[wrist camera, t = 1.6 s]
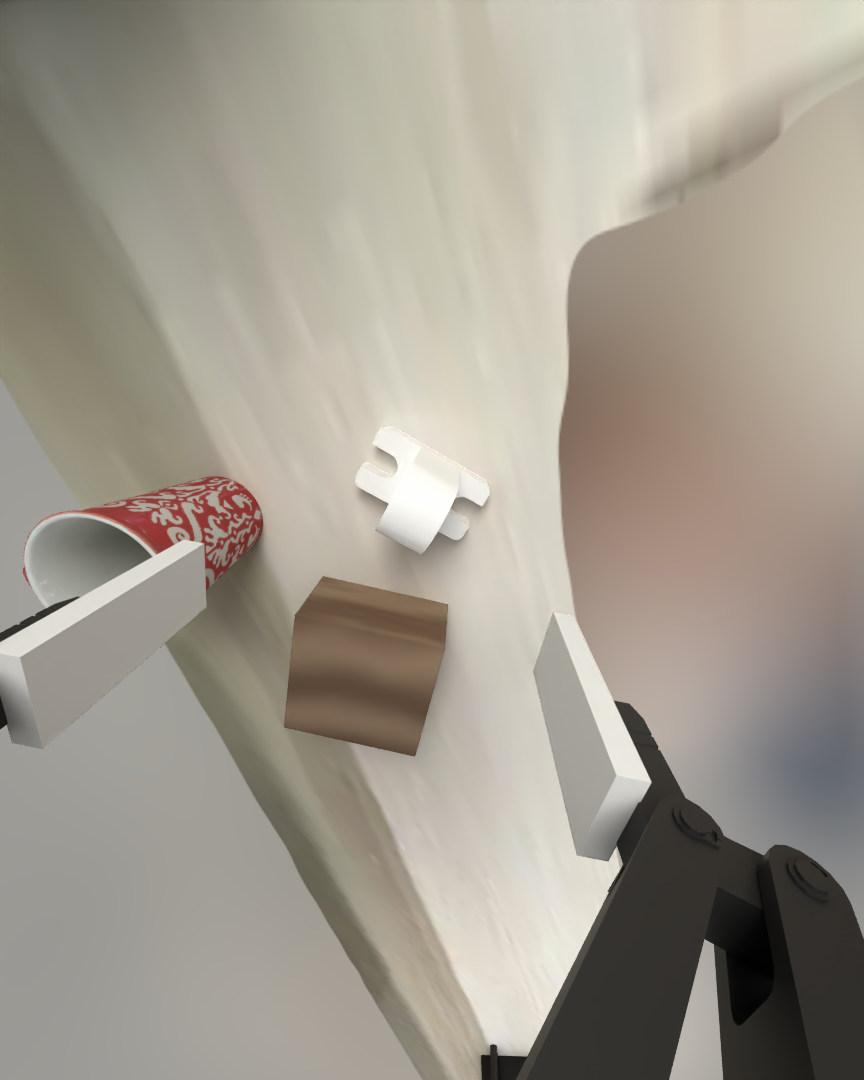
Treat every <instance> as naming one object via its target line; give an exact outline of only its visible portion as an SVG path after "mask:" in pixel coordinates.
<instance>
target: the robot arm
mask: <svg viewBox="0 0 864 1080" xmlns="http://www.w3.org/2000/svg"><path fill="white" fill-rule="evenodd" d="M206 607H207V605H206V578H205V551H204V543H199V542H194V541H189V540H182V541H180V542H179V543H177V544H175V545H173V546H171V547H170V548H168V549H166V550H164V551H162V552H161V553H159V554H157V555H155V556H154V557H152V558H150V559H148V560H146V561H145V562H143V563H141V564H139V565H137V566H136V567H134V568H132V569H130V570H128V571H127V572H125V573H123V574H121V575H120V576H118V577H116V578H114V579H112V580H111V581H109V582H107V583H105V584H103V585H102V586H100V587H98V588H96V589H94V590H93V591H91V592H89V593H87V594H86V595H84V596H82V597H79V596H77V597H74V598H71V599H68V600H65V601H62V602H59V603H55V604H53V605H51V606H50V607H48V608H46V609H44V610H42V611H40V612H38V613H37V614H36V615H35V616H31V617H29V618H27V619H25V620H24V621H22V622H20V624H19V625H14V626H12V627H11V628H9V629H7V630H5V631H3V632H1V633H0V729H1V728H3V727H4V726H5V725H7V727H8V731H9V734H10V737H11V741H12V743H16V744H20V745H25V746H30V747H35V748H40V749H43V748H45V747H46V746H47V745H48V744H49V743H50V742H51V741H53V740H54V739H55V738H56V737H57V736H59V735H60V734H61V733H62V732H63V731H64V730H65V729H66V728H68V727H69V726H70V725H71V724H72V723H74V722H75V721H76V720H77V719H78V718H79V717H80V716H81V715H83V714H84V713H85V712H86V711H87V710H88V709H89V708H91V707H92V706H93V705H94V704H95V703H96V702H98V701H99V700H100V699H101V698H102V697H103V696H105V695H106V694H107V693H108V692H109V691H110V690H111V689H113V688H114V687H115V686H116V685H117V684H118V683H120V682H121V681H122V680H123V679H124V678H125V677H126V676H127V675H129V674H130V673H131V672H132V671H133V670H135V669H136V668H137V667H138V666H139V665H140V664H141V663H143V662H144V661H145V660H146V659H147V658H148V657H149V656H150V655H152V654H153V653H154V652H155V651H156V650H157V649H159V648H160V647H161V646H162V645H163V644H164V643H166V642H167V641H168V640H169V639H170V638H171V637H173V636H174V635H175V634H176V633H177V632H178V631H179V630H181V629H182V628H183V627H184V626H185V625H186V624H187V623H189V622H190V621H191V620H192V619H193V618H194V617H196V616H197V615H198V614H199V613H200V612H201V611H202V610H204V609H205V608H206ZM533 673H534V677H535V681H536V685H537V689H538V694H539V698H540V702H541V706H542V711H543V715H544V719H545V723H546V727H547V732H548V736H549V740H550V744H551V748H552V753H553V757H554V761H555V765H556V770H557V774H558V778H559V782H560V786H561V791H562V795H563V799H564V803H565V808H566V812H567V816H568V820H569V824H570V829H571V833H572V837H573V841H574V846H575V850H576V854H577V855H578V856H583V857H588V858H594V859H599V860H604V861H609V859H610V857H611V855H612V854H613V852H614V850H615V848H616V846H617V847H618V850H619V853H620V856H621V859H622V862H623V866H622V868H621V869H620V871H619V873H618V874H617V876H616V878H615V880H614V881H613V883H612V885H611V887H610V888H609V890H608V892H609V893H608V895H607V897H606V899H605V901H604V903H603V905H602V907H601V909H600V911H599V913H598V915H597V917H596V919H595V921H594V923H593V925H592V927H591V929H590V931H589V933H588V935H587V937H586V939H585V941H584V943H583V945H582V947H581V950H580V952H579V954H578V956H577V958H576V960H575V962H574V964H573V966H572V968H571V970H570V972H569V974H568V976H567V978H566V980H565V982H564V984H563V986H562V988H561V990H560V992H559V994H558V996H557V998H556V1000H555V1002H554V1004H553V1006H552V1008H551V1010H550V1012H549V1014H548V1016H547V1018H546V1020H545V1022H544V1024H543V1026H542V1028H541V1030H540V1032H539V1034H538V1036H537V1038H536V1040H535V1042H534V1044H533V1046H532V1048H531V1050H530V1052H529V1054H528V1056H527V1058H526V1060H525V1062H524V1064H523V1066H522V1069H521V1071H520V1073H519V1075H518V1077H517V1079H516V1080H669V1077H670V1073H671V1069H672V1066H673V1061H674V1058H675V1054H676V1050H677V1046H678V1042H679V1038H680V1034H681V1030H682V1026H683V1022H684V1018H685V1013H686V1010H687V1006H688V1002H689V998H690V994H691V990H692V986H693V982H694V978H695V974H696V970H697V966H698V962H699V958H700V954H701V950H702V946H703V942H704V939H706V940H707V941H709V942H711V943H713V944H714V950H715V951H714V952H715V967H716V981H717V996H718V1009H719V1023H720V1038H721V1053H722V1067H723V1080H864V939H863V936H862V933H861V930H860V928H859V925H858V922H857V919H856V917H855V914H854V911H853V908H852V905H851V903H850V901H849V899H848V897H847V896H846V894H845V892H844V890H843V889H842V887H841V886H840V885H839V884H838V883H837V882H836V881H835V879H834V878H833V877H832V876H831V874H830V873H828V872H827V871H826V870H825V869H824V868H823V867H822V866H820V865H819V864H818V863H817V862H816V861H814V860H813V859H812V858H810V857H808V856H807V855H805V854H804V853H802V852H801V851H798V850H796V849H794V848H791V847H789V846H786V845H775V846H773V847H772V848H770V849H769V850H768V851H767V853H766V854H765V855H761V854H759V853H757V852H755V851H753V850H751V849H749V848H747V847H745V846H743V845H741V844H738V843H736V842H734V841H732V840H730V839H728V838H727V837H725V836H724V835H723V833H722V831H721V829H720V827H719V826H718V825H717V823H716V822H715V821H714V820H713V819H712V817H711V816H710V815H709V814H708V813H706V812H705V811H704V810H703V809H701V808H700V807H699V806H698V805H696V804H694V803H693V802H691V801H689V800H688V799H686V798H685V796H684V795H683V793H682V791H681V789H680V787H679V785H678V783H677V781H676V779H675V777H674V776H673V774H672V772H671V770H670V768H669V766H668V764H667V762H666V760H665V759H664V757H663V755H662V753H661V751H660V750H658V745H657V744H656V742H655V740H654V738H653V737H651V732H650V730H649V729H648V727H647V725H646V723H645V721H644V719H643V718H642V717H641V716H640V715H639V714H638V713H637V711H636V710H634V708H633V707H632V706H631V705H630V704H628V703H623V702H618V701H613V699H612V696H611V694H610V692H609V690H608V688H607V686H606V684H605V682H604V679H603V677H602V675H601V673H600V671H599V669H598V667H597V665H596V662H595V660H594V658H593V656H592V654H591V652H590V649H589V648H588V645H587V643H586V641H585V639H584V637H583V635H582V633H581V630H580V628H579V626H578V624H577V622H576V619H575V617H574V616H572V615H567V614H562V613H556V612H553V614H552V617H551V620H550V623H549V626H548V629H547V632H546V635H545V638H544V641H543V644H542V647H541V650H540V653H539V656H538V658H537V661H536V664H535V667H534V670H533Z"/></svg>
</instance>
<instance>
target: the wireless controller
mask: <svg viewBox="0 0 864 1080" xmlns="http://www.w3.org/2000/svg"><path fill="white" fill-rule="evenodd" d="M490 1054H491V1055H481V1066H482V1080H516V1079H517V1077H518V1075H519V1073H520V1071H521V1069H522V1066H523V1064H524V1062H525V1060H526V1058H527V1057H522V1056H498V1054H497V1046H496V1045H490ZM485 1056H486V1057H485Z"/></svg>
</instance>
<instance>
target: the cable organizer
mask: <svg viewBox="0 0 864 1080" xmlns="http://www.w3.org/2000/svg"><path fill="white" fill-rule="evenodd" d="M372 444H373V445H375V446H377V447H378V448H380V449H382V450H384V451H385V452H387V453H389V454H391V455H392V456H393V457H394V458H395V459H396V461H397V464H398V468H397V471H396V472H393V473H386V472H384V471H382V470H380V469H378V468H377V467H375V466H373V465H371V464H370V463H368V462H365V463H364V464H363V465H362V466H361V467H360V469H359V471H358V473H357V475H356V477H355V483H356V485H357V486H358V487H359V488H361V489H363V490H364V491H366V492H368V493H370V494H372V495H374V496H375V497H377V498H379V499H381V500H383V501H384V502H386V503H388V504H389V505H388V506H387V508H386V510H385V512H384V514H383V516H382V518H381V520H380V521H379V523H378V525H377V527H376V529H375V530H376V531H378V532H380V533H381V534H383V535H385V536H387V537H389V538H391V539H393V540H394V541H396V542H398V543H400V544H402V545H404V546H406V547H407V548H409V549H411V550H413V551H415V552H417V553H419V554H420V555H421V554H422V553H423V552H424V551H425V550H426V549H427V547H428V546H429V545H430V543H431V542H432V540H433V538H434V537H435V535H436V534H437V532H440V533H442V534H444V535H445V536H447V537H449V538H451V539H453V540H459V539H461V538H462V537H463V536H464V534H465V532H466V531H467V529H468V528H469V519H468V518H466V517H464V516H462V515H461V514H459V513H457V512H455V511H454V510H453V509H452V508H451V506H452V504H453V502H454V500H455V498H458V497H465V498H468V499H469V500H471V501H473V502H475V503H476V504H478V505H480V506H483V504H484V503H485V501H486V500H487V498H488V496H489V494H490V489H489V485H488V482H487V481H486V480H485V479H483V478H482V477H480V476H478V475H476V474H475V473H473V472H471V471H469V470H468V469H466V468H464V467H462V466H461V465H459V464H457V463H456V462H454V461H452V460H450V459H449V458H447V457H445V456H443V455H442V454H440V453H438V452H437V451H435V450H433V449H431V448H430V447H428V446H426V445H424V444H423V443H421V442H419V441H417V440H416V439H414V438H412V437H411V436H409V435H407V434H405V433H404V432H402V431H400V430H398V429H397V428H395V427H393V426H391V425H387V426H385V427H383V428H381V429H380V430H379V431H378V432H377V434H376V436H375V438H374V440H373V442H372Z"/></svg>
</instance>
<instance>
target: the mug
mask: <svg viewBox="0 0 864 1080" xmlns="http://www.w3.org/2000/svg"><path fill="white" fill-rule="evenodd" d="M262 524H263V523H262V514H261V510H260V508H259V505H258V503H257V501H256V500H255V498H254V497H253V496H252V494H251V493H250V492H249V491H248V490H246V489H245V488H244V487H243V486H242V485H240V484H238V483H237V482H235V481H232V480H230V479H227V478H223V477H207V478H202V479H198V480H194V481H190V482H187V483H184V484H180V485H176V486H172V487H169V488H165V489H162V490H158V491H154V492H151V493H148V494H144V495H140V496H136V497H132V498H127V499H123V500H120V501H116V502H112V503H108V504H105V505H101V506H98V507H94V508H90V509H87V510H83V511H67V512H60V513H57V514H54V515H51V516H49V517H47V518H45V519H43V520H42V521H41V522H39V523H38V524H37V525H36V526H35V527H34V529H33V530H32V531H31V532H30V533H29V536H28V538H27V541H26V544H25V548H24V563H25V567H24V568H23V574H24V575H25V578H26V580H27V582H28V583H29V585H30V586H31V587H32V588H33V590H34V592H35V594H36V596H37V597H38V599H39V600H40V602H41V603H42V604H43V606H44V607H45V608H48V607H50V606H51V605H53V604H55V603H59V602H62V601H65V600H68V599H71V598H74V597H77V596H79V597H82V596H84V595H86V594H87V593H89V592H91V591H93V590H94V589H96V588H98V587H100V586H102V585H103V584H105V583H107V582H109V581H111V580H112V579H114V578H116V577H118V576H120V575H121V574H123V573H125V572H127V571H128V570H130V569H132V568H134V567H136V566H137V565H139V564H141V563H143V562H145V561H146V560H148V559H150V558H152V557H154V556H155V555H157V554H159V553H161V552H162V551H164V550H166V549H168V548H170V547H171V546H173V545H175V544H177V543H179V542H180V541H182V540H189V541H194V542H199V543H204V551H205V578H206V590H208V589H209V588H210V586H212V585H213V584H214V583H215V582H216V581H217V580H218V579H219V578H220V577H221V576H222V575H223V574H224V573H225V572H226V571H227V570H228V569H229V568H231V567H232V566H233V565H234V564H235V563H236V562H237V561H238V560H239V559H240V558H241V557H242V556H243V555H244V554H245V553H246V552H247V551H248V550H250V549H251V547H252V546H253V545H254V544H255V543H256V542H257V540H258V539H259V537H260V534H261V531H262Z"/></svg>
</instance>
